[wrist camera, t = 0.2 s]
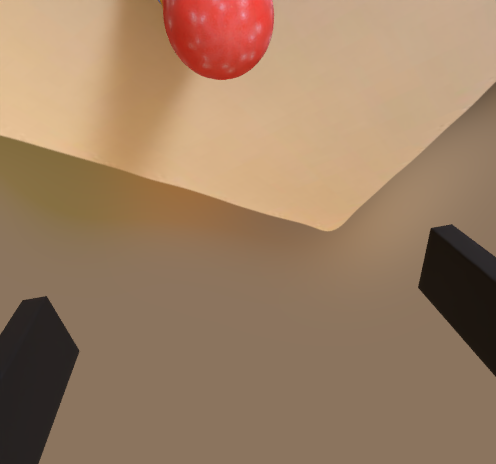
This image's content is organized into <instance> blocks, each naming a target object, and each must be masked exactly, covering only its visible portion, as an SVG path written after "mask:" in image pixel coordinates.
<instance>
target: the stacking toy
mask: <svg viewBox="0 0 496 464" xmlns="http://www.w3.org/2000/svg"><path fill="white" fill-rule="evenodd" d="M158 1H159V2H160V4H161V5H162V7H163V17H164V24H165V29H166V33H167V36H168V38H169V41H170V44H171V46H172V48H173V49H174V51H175V53H176V54H177V55H178V57H179V58H180V59H181V61H182V62H183V63H184V64H185V65H186V66H188V67H189V68H190V69H191V70H193V71H194V72H196V73H197V74H199V75H201V76H204V77H207V78H211V79H217V80H226V79H232V78H236V77H239V76H241V75H243V74H245V73H246V72H248V71H249V70H251V69H252V68H253V67H254V66H255V65H256V64H257V63H258V62H259V61H260V59H261V58H262V57H263V55H264V54H265V52H266V50H267V48H268V45H269V42H270V39H271V36H272V31H273V24H274V9H273V2H272V0H158Z"/></svg>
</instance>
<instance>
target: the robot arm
mask: <svg viewBox="0 0 496 464" xmlns="http://www.w3.org/2000/svg"><path fill="white" fill-rule="evenodd" d="M418 288H419V289H420V290H421V291H422V293H423V294H424V295H425V296H426V297H427V298H428V299H429V301H430V302H431V303H432V304H433V305H434V306H435V307H436V309H437V310H438V311H439V312H440V313H441V314H442V315H443V317H444V318H445V319H446V320H447V321H448V322H449V323H450V325H451V326H452V327H453V328H454V329H455V330H456V332H457V333H458V334H459V335H460V336H461V337H462V338H463V340H464V341H465V342H466V343H467V344H468V345H469V347H471V349H472V350H473V351H474V352H475V353H476V355H477V356H478V357H479V358H480V359H481V360H482V361H483V362H484V364H485V365H486V366H487V367H488V368H489V369H490V371H491V372H492V373H493V374H494V375H495V376H496V257H495V256H493V255H492V254H491V253H489V252H488V251H487V250H485V249H484V248H483V247H481V246H480V245H478V244H477V243H476V242H475V241H473V240H472V239H471V238H469V237H468V236H467V235H465V234H464V233H463V232H461V231H460V230H459V229H457V228H456V227H454V226H453V225H452V224H451V225H446V226H441V227H435V228H431V230H430V235H429V239H428V244H427V249H426V253H425V259H424V263H423V267H422V272H421V277H420V281H419V286H418ZM78 354H79V349H78V348H77V346H76V344H75V343H74V341H73V339H72V338H71V336H70V334H69V333H68V331H67V329H66V328H65V326H64V324H63V323H62V321H61V319H60V318H59V316H58V314H57V313H56V311H55V309H54V308H53V306H52V304H51V303H50V301H49V299H48V298H47V296H45V297H39V298H33V299H28V300H23V301H22V302H21V304H20V305H19V307H18V308H17V310H16V311H15V313H14V314H13V316H12V318H11V319H10V321H9V322H8V324H7V325H6V327H5V329H4V330H3V332H2V333H1V335H0V464H38V463H39V460H40V458H41V455H42V452H43V450H44V447H45V444H46V441H47V438H48V436H49V433H50V430H51V428H52V425H53V422H54V419H55V417H56V414H57V411H58V408H59V406H60V403H61V400H62V397H63V395H64V392H65V389H66V386H67V383H68V381H69V378H70V375H71V373H72V370H73V367H74V364H75V361H76V359H77V356H78Z"/></svg>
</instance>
